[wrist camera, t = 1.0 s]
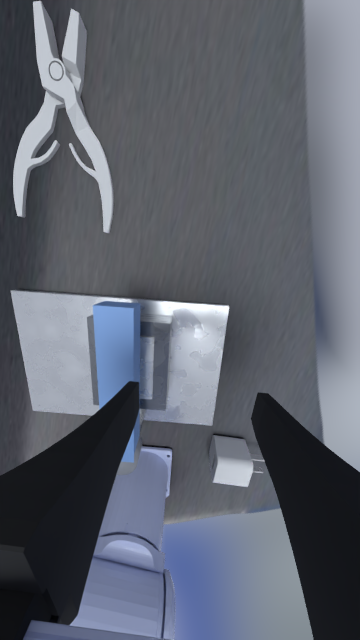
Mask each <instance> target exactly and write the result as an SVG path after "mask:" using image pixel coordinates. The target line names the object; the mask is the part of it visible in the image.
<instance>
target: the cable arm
mask: <svg viewBox="0 0 360 640" xmlns="http://www.w3.org/2000/svg"><path fill="white" fill-rule="evenodd" d="M93 318H94V334H95V349H96V364H97V379H98V395H99V410H100V409H101V408H102V407H103V406H104V405H105V404H106V403H107V402H108V401H109V400H110V399H112V398H113V397H114V396H115V395H116V394H117V393H118V392H119V391H120V390H121V389H122V388H123V387H124V386H125V385H126V384H127V383H128V382H129V381H134V382H139V404H140V303H128V302H114V301H103V302H100V303H97V304H95V305H93ZM139 429H140V408H139V412H138V416H137V420H136V423H135V426H134V429H133V432H132V434H131V437H130V440H129V442H128V445H127V447H126V450H125V453H124V455H123V458H122V460H121V463H120V466H119V468H118V471H117V474H116V475H126V474H129V473H131V472H133V471H134V470H135V468H136V467H137V463H138V459H139V455H140V451H141V447H142V439H141V437H140V436H139Z"/></svg>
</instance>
